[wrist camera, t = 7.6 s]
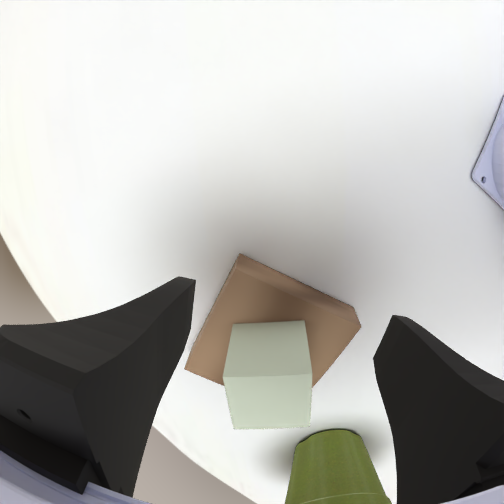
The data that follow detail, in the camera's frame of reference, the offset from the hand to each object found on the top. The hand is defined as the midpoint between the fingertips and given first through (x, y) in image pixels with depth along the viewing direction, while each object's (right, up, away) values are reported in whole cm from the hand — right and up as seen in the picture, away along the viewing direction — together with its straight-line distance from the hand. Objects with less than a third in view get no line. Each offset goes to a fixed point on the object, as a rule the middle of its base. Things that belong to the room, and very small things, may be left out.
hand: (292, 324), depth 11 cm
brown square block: (0, -3, +13) cm, 13 cm away
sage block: (0, -4, +10) cm, 10 cm away
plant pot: (+7, -18, +17) cm, 26 cm away
